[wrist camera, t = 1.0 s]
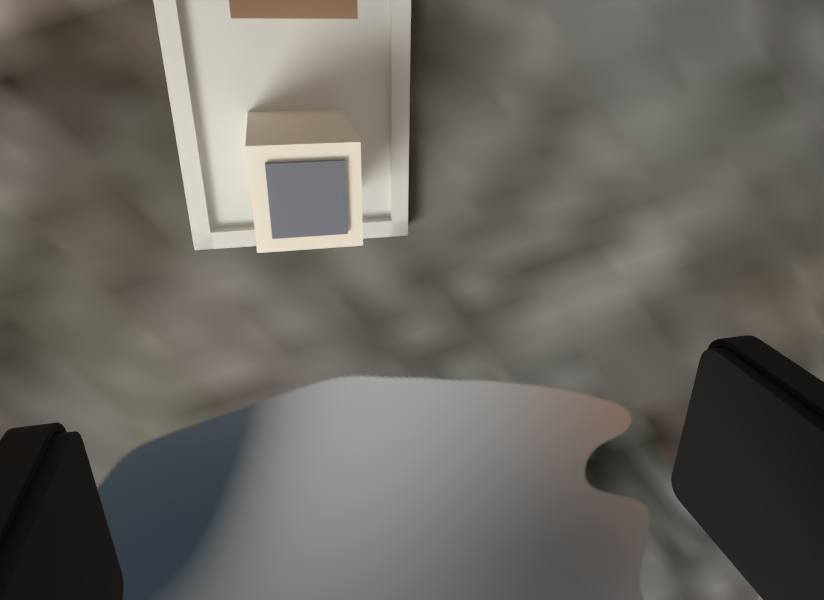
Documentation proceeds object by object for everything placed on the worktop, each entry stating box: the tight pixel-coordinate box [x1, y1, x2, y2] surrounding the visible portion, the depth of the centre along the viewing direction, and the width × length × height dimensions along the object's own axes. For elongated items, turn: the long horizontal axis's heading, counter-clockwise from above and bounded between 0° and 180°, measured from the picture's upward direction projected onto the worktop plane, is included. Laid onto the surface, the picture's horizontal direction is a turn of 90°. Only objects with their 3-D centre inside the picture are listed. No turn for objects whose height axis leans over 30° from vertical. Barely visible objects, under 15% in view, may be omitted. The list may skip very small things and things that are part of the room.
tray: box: [153, 0, 411, 250], centre depth 26 cm, size 16×10×1 cm, turn 179°
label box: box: [245, 109, 363, 253], centre depth 25 cm, size 4×4×6 cm
